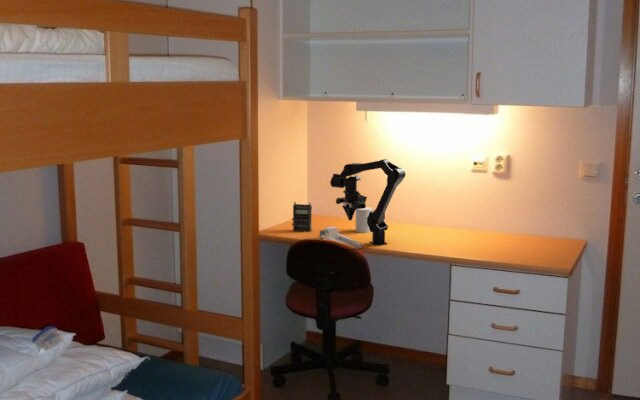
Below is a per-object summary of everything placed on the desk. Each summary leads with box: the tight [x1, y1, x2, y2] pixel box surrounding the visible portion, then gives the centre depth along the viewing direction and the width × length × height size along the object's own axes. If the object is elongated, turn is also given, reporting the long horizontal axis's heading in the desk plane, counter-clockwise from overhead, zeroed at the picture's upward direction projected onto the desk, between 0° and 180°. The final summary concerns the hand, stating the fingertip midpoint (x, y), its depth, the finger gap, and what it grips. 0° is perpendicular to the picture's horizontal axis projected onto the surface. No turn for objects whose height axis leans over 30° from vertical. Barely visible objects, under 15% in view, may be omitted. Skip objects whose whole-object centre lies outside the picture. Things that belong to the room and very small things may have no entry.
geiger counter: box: [291, 201, 313, 233], centre depth 373 cm, size 10×4×15 cm, turn 77°
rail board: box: [317, 229, 363, 249], centre depth 347 cm, size 26×10×4 cm, turn 27°
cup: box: [355, 206, 372, 234], centre depth 374 cm, size 8×8×12 cm
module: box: [324, 226, 339, 239], centre depth 354 cm, size 5×5×5 cm
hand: (350, 220), depth 354 cm, fingers closed
